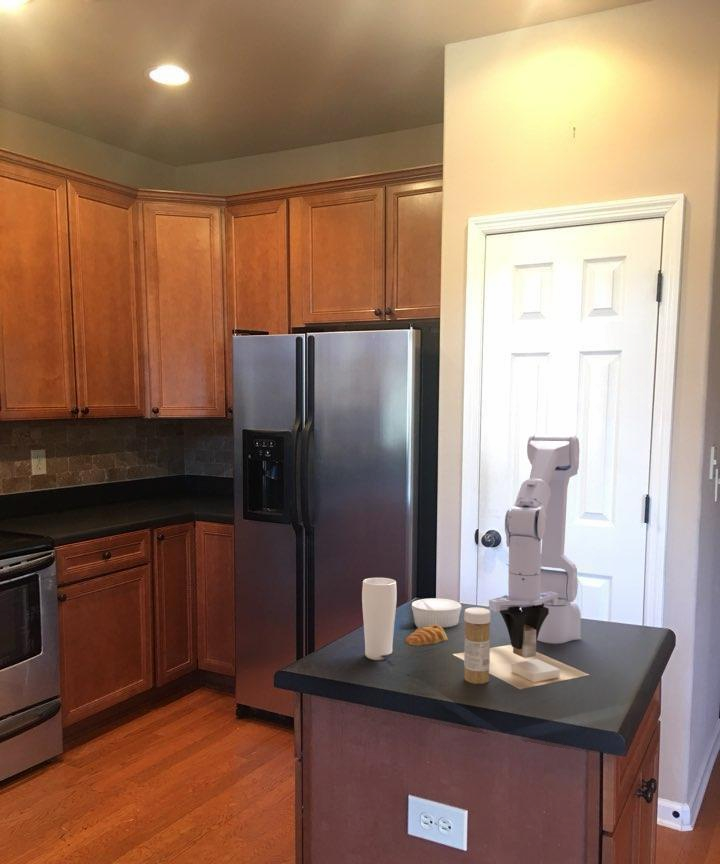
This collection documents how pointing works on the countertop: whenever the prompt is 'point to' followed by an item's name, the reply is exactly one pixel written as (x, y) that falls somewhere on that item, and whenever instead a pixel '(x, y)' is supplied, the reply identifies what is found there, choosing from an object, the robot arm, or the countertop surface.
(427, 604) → the ramekin
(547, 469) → the robot arm
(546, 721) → the countertop surface
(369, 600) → the drinking glass
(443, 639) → the pastry
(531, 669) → the tile
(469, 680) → the sprinkles bottle
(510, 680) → the board
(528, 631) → the tan wooden block
